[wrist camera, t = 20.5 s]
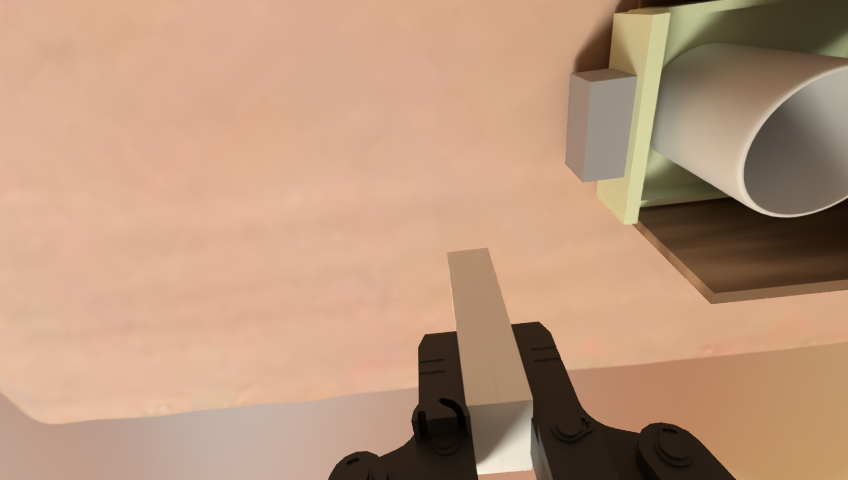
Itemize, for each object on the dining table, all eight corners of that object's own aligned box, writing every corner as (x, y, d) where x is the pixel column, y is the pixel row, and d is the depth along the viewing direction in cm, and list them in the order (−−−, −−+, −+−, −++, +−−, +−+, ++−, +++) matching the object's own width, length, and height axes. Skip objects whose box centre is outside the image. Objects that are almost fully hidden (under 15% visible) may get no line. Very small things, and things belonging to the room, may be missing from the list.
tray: (570, 17, 28) (601, 20, 24) (870, -24, 28) (963, -30, 23) (561, 201, 36) (583, 230, 31) (799, 172, 35) (859, 199, 30)
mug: (642, 171, 33) (732, 237, 24) (636, 65, 29) (741, 94, 20) (799, 124, 32) (964, 175, 22) (816, 5, 28) (1026, 5, 18)
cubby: (639, -14, 28) (832, -30, 15) (895, -50, 27) (1330, -100, 14) (613, 204, 36) (722, 315, 24) (808, 182, 36) (1032, 282, 23)
